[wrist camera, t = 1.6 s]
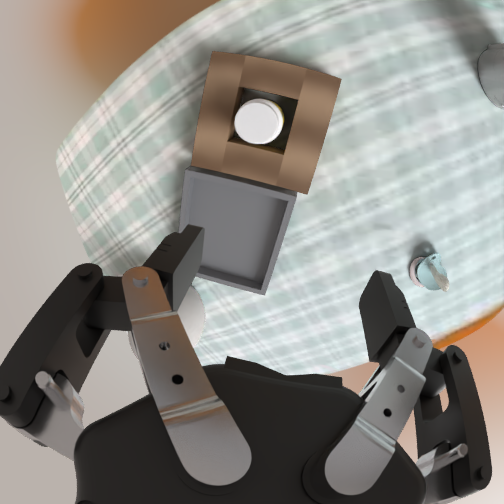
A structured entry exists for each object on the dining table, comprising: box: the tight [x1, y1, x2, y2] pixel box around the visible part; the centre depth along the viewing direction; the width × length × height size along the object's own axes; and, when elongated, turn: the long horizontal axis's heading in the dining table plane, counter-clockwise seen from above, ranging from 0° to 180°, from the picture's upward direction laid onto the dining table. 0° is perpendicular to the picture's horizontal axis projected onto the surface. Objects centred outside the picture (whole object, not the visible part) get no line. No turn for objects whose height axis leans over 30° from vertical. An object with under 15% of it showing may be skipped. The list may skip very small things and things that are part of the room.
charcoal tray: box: [179, 166, 297, 295], centre depth 37 cm, size 16×14×2 cm
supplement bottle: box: [234, 99, 285, 144], centre depth 26 cm, size 5×5×8 cm
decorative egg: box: [128, 286, 205, 359], centre depth 41 cm, size 12×12×15 cm
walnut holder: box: [191, 51, 341, 194], centre depth 28 cm, size 14×14×4 cm
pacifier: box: [410, 253, 449, 292], centre depth 34 cm, size 7×6×6 cm
